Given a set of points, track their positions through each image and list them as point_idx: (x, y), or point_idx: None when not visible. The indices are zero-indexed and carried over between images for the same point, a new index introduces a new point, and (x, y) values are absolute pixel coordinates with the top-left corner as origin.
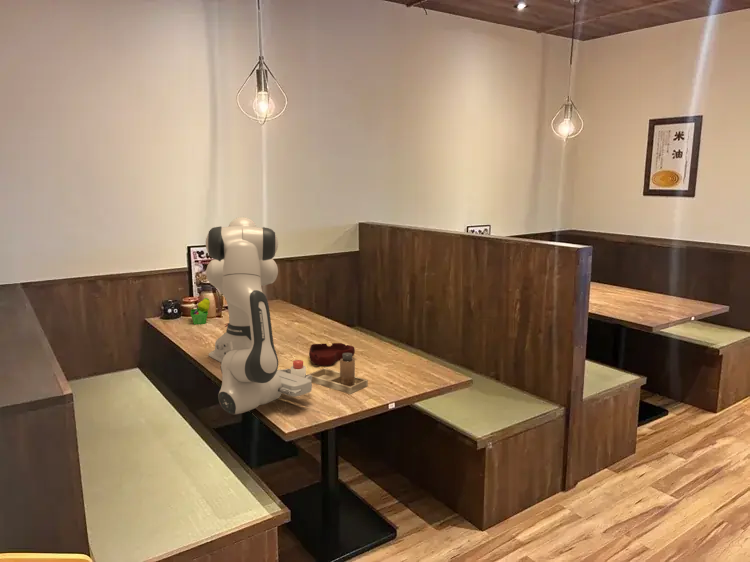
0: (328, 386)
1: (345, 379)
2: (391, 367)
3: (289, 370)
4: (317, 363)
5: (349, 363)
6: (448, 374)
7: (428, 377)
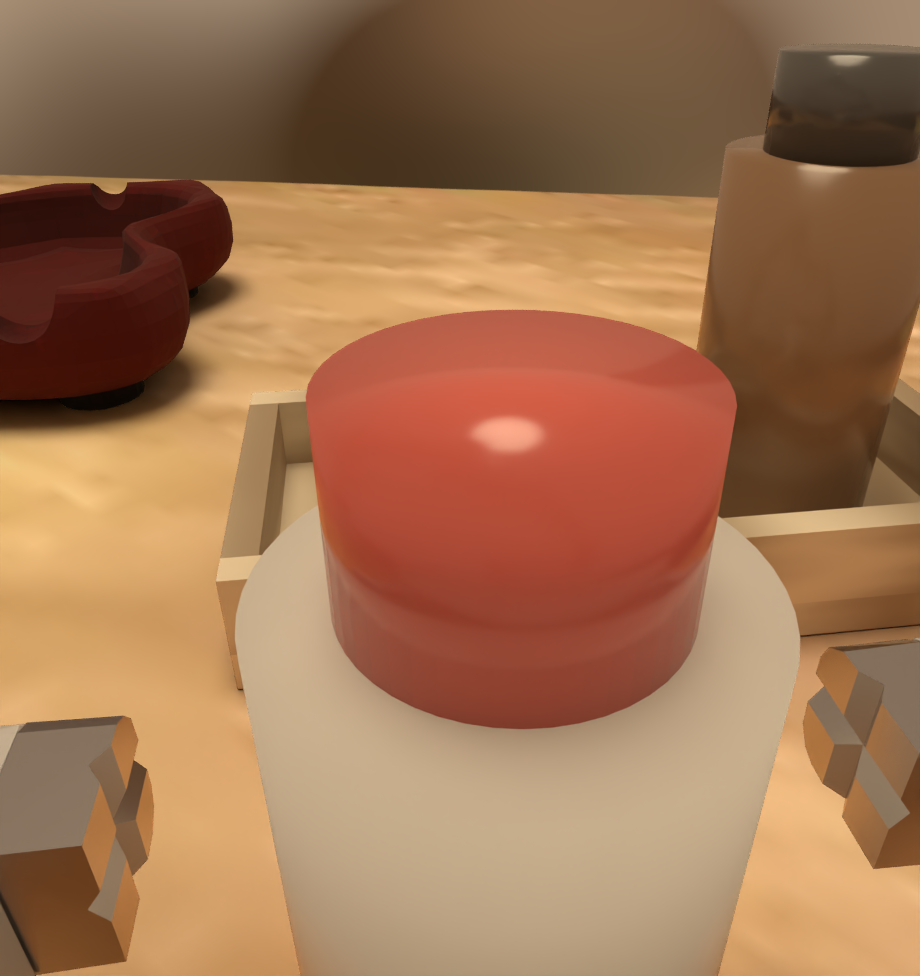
0: None
1: (867, 427)
2: (540, 256)
3: (99, 780)
4: (39, 382)
5: None
6: None
7: None
